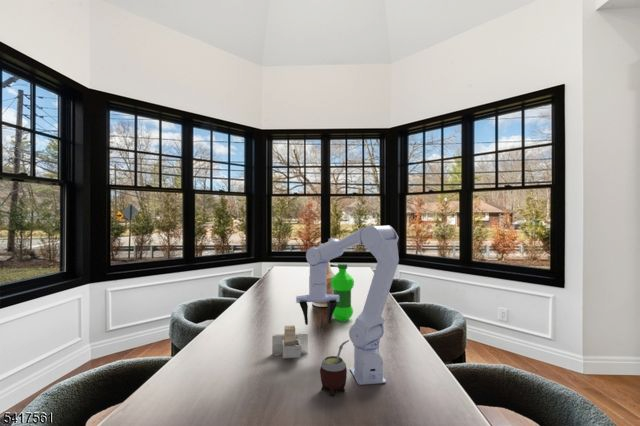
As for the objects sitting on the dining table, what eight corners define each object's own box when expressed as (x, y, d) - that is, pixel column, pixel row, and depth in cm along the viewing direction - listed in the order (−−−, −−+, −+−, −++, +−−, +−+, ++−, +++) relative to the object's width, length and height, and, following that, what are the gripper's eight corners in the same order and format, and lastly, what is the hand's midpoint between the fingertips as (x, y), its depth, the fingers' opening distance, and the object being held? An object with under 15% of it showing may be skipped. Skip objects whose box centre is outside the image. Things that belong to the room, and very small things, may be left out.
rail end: (295, 353, 101) (295, 328, 101) (284, 354, 101) (285, 329, 101) (294, 349, 104) (294, 325, 104) (284, 350, 104) (284, 325, 104)
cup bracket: (310, 362, 101) (311, 342, 101) (272, 365, 99) (272, 344, 99) (307, 351, 109) (307, 332, 109) (272, 353, 107) (272, 334, 107)
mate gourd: (322, 382, 89) (322, 328, 89) (350, 385, 88) (351, 330, 88) (317, 397, 81) (318, 338, 82) (348, 400, 80) (349, 340, 80)
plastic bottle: (329, 316, 149) (330, 262, 150) (352, 316, 150) (352, 262, 150) (331, 323, 139) (331, 265, 140) (355, 323, 140) (355, 266, 140)
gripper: (336, 280, 113) (336, 318, 112) (295, 281, 110) (295, 320, 110) (341, 284, 106) (340, 325, 105) (297, 285, 103) (297, 327, 103)
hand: (317, 323), depth 107 cm, fingers open, 7 cm apart
